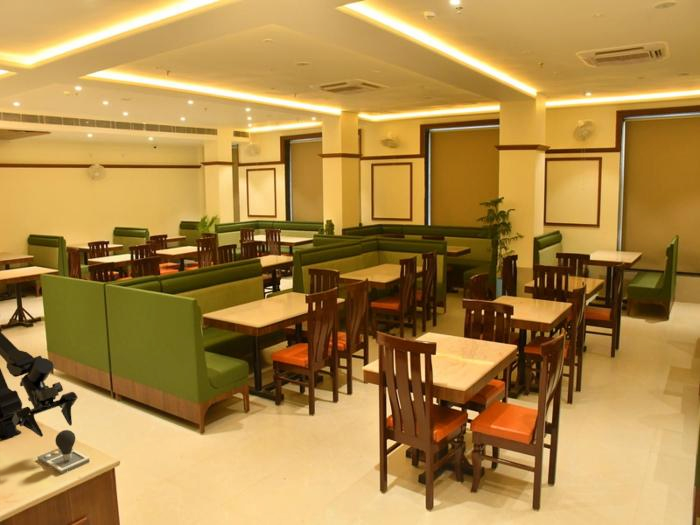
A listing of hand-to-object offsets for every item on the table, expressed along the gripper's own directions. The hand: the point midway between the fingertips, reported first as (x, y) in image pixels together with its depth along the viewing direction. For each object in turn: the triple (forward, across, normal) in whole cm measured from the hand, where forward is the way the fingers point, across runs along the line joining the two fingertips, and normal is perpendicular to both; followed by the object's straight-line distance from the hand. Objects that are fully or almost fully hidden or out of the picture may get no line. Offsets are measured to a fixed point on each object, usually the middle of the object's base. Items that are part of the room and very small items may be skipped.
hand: (56, 430), depth 183 cm
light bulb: (+10, 0, +3) cm, 10 cm away
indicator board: (+8, 0, +5) cm, 10 cm away
